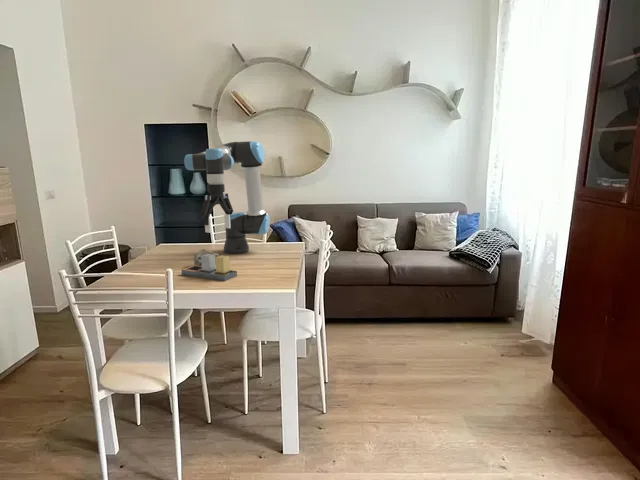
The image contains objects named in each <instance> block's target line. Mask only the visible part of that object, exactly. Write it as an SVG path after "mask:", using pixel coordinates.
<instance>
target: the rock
mask: <svg viewBox="0 0 640 480" xmlns="http://www.w3.org/2000/svg"><path fill="white" fill-rule="evenodd" d="M205 254H214V255H215V257H218V256H220V255H219V253H215V252H213V251H212V250H206V249H205V248H203V249H202V248H201V249H199V250H198V251H197V252H196V253H195V254H194V256H193V266H194V265H197V266H202V262H201V256H202V255H205ZM215 264H216V261H215Z"/></svg>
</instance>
